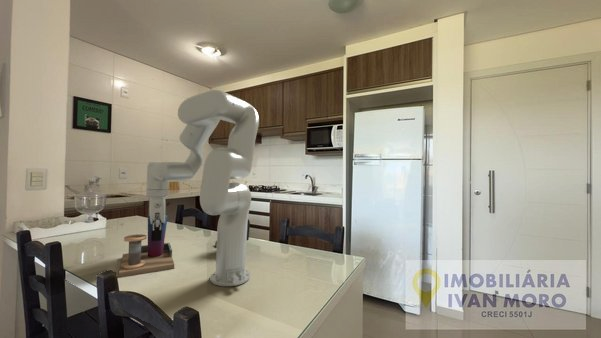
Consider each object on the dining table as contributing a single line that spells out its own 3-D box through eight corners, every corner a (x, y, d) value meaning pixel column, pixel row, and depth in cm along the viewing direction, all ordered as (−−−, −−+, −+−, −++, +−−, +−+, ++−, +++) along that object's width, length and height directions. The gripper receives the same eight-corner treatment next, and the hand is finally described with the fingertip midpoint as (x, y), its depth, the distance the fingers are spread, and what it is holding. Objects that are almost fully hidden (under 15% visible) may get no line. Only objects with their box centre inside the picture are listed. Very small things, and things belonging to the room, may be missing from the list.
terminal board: (174, 268, 89) (175, 236, 89) (118, 277, 80) (120, 241, 80) (169, 251, 106) (170, 224, 106) (122, 257, 97) (124, 228, 97)
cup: (168, 252, 100) (171, 215, 101) (157, 258, 93) (160, 217, 94) (153, 251, 101) (155, 214, 102) (140, 256, 94) (143, 216, 95)
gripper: (170, 195, 92) (168, 242, 92) (166, 191, 107) (164, 231, 107) (146, 196, 88) (144, 244, 88) (145, 191, 103) (144, 233, 103)
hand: (155, 237), depth 97 cm, fingers open, 9 cm apart
